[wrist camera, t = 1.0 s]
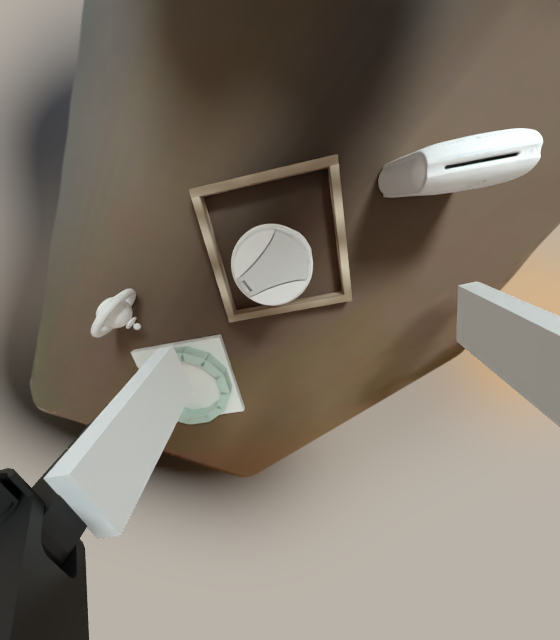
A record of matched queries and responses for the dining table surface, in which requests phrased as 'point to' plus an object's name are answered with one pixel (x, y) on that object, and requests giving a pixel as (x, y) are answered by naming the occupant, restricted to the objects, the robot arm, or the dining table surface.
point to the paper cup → (272, 264)
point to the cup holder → (203, 377)
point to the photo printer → (462, 164)
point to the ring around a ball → (115, 313)
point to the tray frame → (262, 177)
